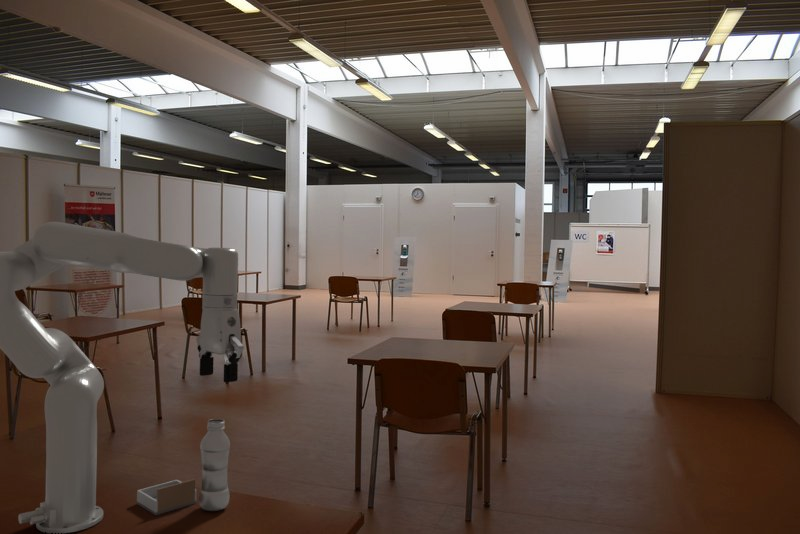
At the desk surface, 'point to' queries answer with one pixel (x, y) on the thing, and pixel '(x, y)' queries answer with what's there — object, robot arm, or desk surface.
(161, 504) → the drawer
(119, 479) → the desk surface
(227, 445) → the plastic bottle
